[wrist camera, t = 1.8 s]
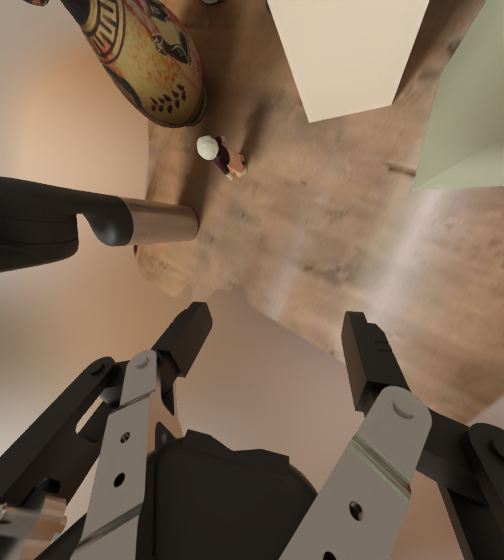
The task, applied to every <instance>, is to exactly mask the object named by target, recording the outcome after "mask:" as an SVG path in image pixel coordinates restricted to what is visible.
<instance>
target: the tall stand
mask: <svg viewBox="0 0 504 560" xmlns="http://www.w3.org/2000/svg"><path fill="white" fill-rule="evenodd" d="M267 1H268V4H269V7H270V10H271V13H272V16H273V19H274V22H275V25H276V28H277V30H278V33H279V36H280V39H281V42H282V45H283V48H284V51H285V54H286V57H287V60H288V62H289V65H290V68H291V71H292V74H293V77H294V80H295V83H296V86H297V89H298V91H299V94H300V97H301V100H302V103H303V106H304V109H305V112H306V115H307V118H308V121H309V123H310V122H315V121H320V120H324V119H329V118H334V117H339V116H343V115H348V114H353V113H357V112H362V111H367V110H371V109H376V108H381V107H385V106H390V105H392V102H393V99H394V97H395V94H396V91H397V88H398V86H399V83H400V80H401V77H402V75H403V72H404V69H405V66H406V64H407V61H408V58H409V55H410V53H411V50H412V47H413V44H414V42H415V39H416V36H417V33H418V31H419V28H420V25H421V22H422V20H423V17H424V14H425V11H426V9H427V6H428V3H429V0H267Z"/></svg>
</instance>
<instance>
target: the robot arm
mask: <svg viewBox="0 0 504 560" xmlns="http://www.w3.org/2000/svg"><path fill="white" fill-rule="evenodd" d="M76 214H83V215H84V216H85V217H86V219H87V220H88V222H89V224H90V226H91V228H92V230H93V232H94V233H95V235H96V236H97V238H98V239H99V240H100V241H101V242H102V243H104V244H106V245H109V246H125V245H126V246H127V245H140V244H154V243H168V242H182V241H190V240H192V239H193V238H194V237H195V236H196V234H197V231H198V220H197V217H196V214H195V213H194V211H193V210H192V209H191V208H189V207H187V206H180V205H174V204H167V203H160V202H154V201H147V200H140V199H133V198H126V197H118V196H112V195H105V194H98V193H92V192H86V191H79V190H72V189H68V188H62V187H56V186H52V185H47V184H42V183H37V182H31V181H26V180H21V179H14V178H8V177H0V272H6V271H11V270H17V269H22V268H28V267H33V266H38V265H43V264H48V263H53V262H57V261H60V260H64V259H66V258H69V257H71V256H72V255H74V254H75V253H76V252H77V250H78V244H79V241H78V228H77V217H76ZM211 328H212V317H211V314H210V312H209V309H208V306H207V303H205V302H192V303H191V305H190V306H189V308H188V309H185V310H184V311H182V312H181V313H180V314H179V315H178V316H177V317H176V318H175V319H174V320H173V323H171V324H170V326H169V328H167V329H166V331H165V332H164V333H163V335H162V336H161V337H160V338H159V340H158V341H157V342H156V343H155V344H154V346H153V347H152V348H151V350H145V351H142V352H140V353H138V354H137V355H136V356H134V357H133V358H132V359H131V360H129V361H123V362H117V363H116V362H115V361H114V360H113V358H111V357H103V358H100V359H98V360H96V361H95V362H93V363H91V364H90V365H89V366H88V367H87V368H86V369H85V370H84V371H83V372H82V373H81V374H80V375H79V376H78V377H77V378H76V379H75V380H74V381H73V382H72V383H71V384H70V385H69V386H68V388H66V389H65V390H64V392H63V393H62V394H61V395H60V396H59V397H58V398H57V399H56V400H55V401H54V402H53V403H52V404H51V405H50V406H49V407H48V408H47V409H46V410H45V411H44V412H43V413H42V414H41V415H40V416H39V417H38V418H37V419H36V421H35V422H34V423H33V424H32V425H31V426H30V427H29V428H28V429H27V430H26V431H25V432H24V433H23V434H22V435H21V436H20V437H19V438H18V439H17V440H16V441H15V442H14V443H13V444H12V445H11V446H10V448H9V449H7V450H6V451H5V453H4V454H3V455H2V456H1V457H0V560H389V558H390V555H391V552H392V550H393V547H394V544H395V541H396V538H397V535H398V533H399V530H400V527H401V524H402V521H403V519H404V516H405V513H406V510H407V507H408V504H409V501H410V496H411V489H410V483H411V479H412V477H413V474H414V471H415V470H417V471H419V472H421V473H422V474H424V475H426V476H427V477H429V478H431V479H433V480H434V481H436V482H437V484H438V487H439V490H440V492H441V495H442V498H443V501H444V504H445V506H446V509H447V512H448V515H449V518H450V521H451V523H452V526H453V529H454V532H455V535H456V538H457V540H458V543H459V546H460V549H461V552H462V554H463V557H464V560H504V430H503V429H501V428H498V427H496V426H493V425H490V424H486V423H476V424H474V425H472V426H471V427H468V426H466V425H464V424H461V423H459V422H457V421H454V420H452V419H450V418H448V417H445V416H443V415H441V414H438V413H436V412H434V411H433V410H431V409H429V408H428V407H427V406H426V405H425V404H424V403H423V402H422V401H421V400H420V399H419V398H418V397H417V396H416V395H414V394H413V393H412V392H411V390H410V389H409V387H408V385H407V383H406V380H405V378H404V376H403V374H402V371H401V369H400V367H399V365H398V363H397V360H396V358H395V356H394V354H393V353H392V349H391V347H390V345H389V344H388V343H389V342H388V340H387V338H386V336H385V333H384V332H383V331H382V330H381V329H380V328H379V327H378V326H377V325H376V324H373V323H367V320H366V318H365V315H364V313H363V312H351V311H346V313H345V317H344V322H343V327H342V334H341V339H342V346H343V351H344V356H345V361H346V366H347V371H348V376H349V382H350V387H351V392H352V396H353V402H354V407H355V411H360V412H363V413H364V416H365V419H364V421H363V422H362V424H361V426H360V427H359V430H358V431H357V433H356V434H355V436H354V437H353V438H352V439H351V441H350V442H349V444H348V446H347V447H346V449H345V451H344V452H343V454H342V456H341V457H340V459H339V460H338V462H337V464H336V465H335V467H334V469H333V470H332V472H331V474H330V475H329V477H328V479H327V481H326V482H325V484H324V485H323V487H322V489H321V490H320V492H319V494H318V493H317V492H316V490H315V488H314V487H313V486H312V484H311V483H310V482H309V481H308V479H307V478H306V477H305V476H304V475H303V474H302V473H301V472H300V471H299V470H297V469H296V468H295V467H294V466H292V465H291V464H289V456H286V455H282V454H278V453H274V452H271V451H267V450H263V449H254V450H241V451H232V450H230V449H229V448H227V447H226V446H224V445H223V444H222V443H220V442H219V441H217V440H216V439H215V438H213V437H212V436H211V435H208V434H204V433H200V432H197V431H193V430H189V429H188V430H187V433H186V435H185V437H183V432H182V428H181V425H180V423H179V419H178V409H177V395H176V383H175V380H176V378H177V376H178V377H184V378H185V377H186V375H187V373H188V371H189V369H190V368H191V366H192V364H193V362H194V360H195V358H196V356H197V355H198V353H199V351H200V349H201V347H202V345H203V343H204V342H205V339H206V338H207V336H208V334H209V332H210V330H211ZM98 396H99V397H100V398H101V399H102V400H103V402H102V403H101V404H100V406H99V407H98V408H97V409H96V411H95V412H94V413H93V415H92V416H91V417H90V419H89V420H88V421H87V423H86V424H85V425H84V426H83V428H82V429H81V430H80V432H79V433H78V434H77V433H76V431H75V430H76V425H77V423H78V422H79V420H80V419H81V418H82V416H83V415H84V414H85V413H86V411H87V410H88V409H89V408H90V406H91V405H92V404H93V403H94V401H95V400H96V399H97V398H98ZM99 455H100V456H99ZM98 457H99V461H98V465H97V470H96V475H95V479H94V484H93V489H92V493H91V498H90V502H89V507H88V512H87V513H86V514H85V515H83V516H82V517H81V518H80V519H79V520H78V521H77V522H76V523H75V524H73V525H72V526H71V527H70V528H69V529H68V530H67V531H65V532H64V533H63V534H62V535H61V536H60V537H59V535H60V534H61V533H62V531H63V530H64V528H65V526H66V523H67V516H65V515H64V513H65V510H66V506H67V505H68V503H69V502H70V500H71V499H72V497H73V496H74V494H75V492H76V491H77V489H78V488H79V486H80V485H81V483H82V482H83V480H84V478H85V477H86V475H87V474H88V472H89V470H90V469H91V467H92V466H93V464H94V463H95V461H96V460H97V458H98ZM58 537H59V538H58ZM55 539H57V540H55ZM54 540H55V541H54ZM52 541H54V542H53V543H52V544H51V545H50V543H51V542H52Z"/></svg>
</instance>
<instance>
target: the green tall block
mask: <svg viewBox="0 0 504 560" xmlns="http://www.w3.org/2000/svg"><path fill="white" fill-rule="evenodd" d="M494 186H504V0H487V1H486V2H485V4H484V6H483V7H482V9H481V11H480V12H479V14H478V15H477V17H476V19H475V20H474V22H473V24H472V25H471V27H470V28H469V30H468V32H467V33H466V35H465V37H464V38H463V40H462V42H461V43H460V45H459V46H458V48H457V50H456V51H455V53H454V55H453V56H452V58H451V59H450V61H449V63H448V64H447V66H446V68H445V69H444V71H443V73H442V74H441V76H440V77H439V81H438V85H437V90H436V94H435V98H434V102H433V106H432V110H431V114H430V119H429V123H428V127H427V131H426V135H425V139H424V144H423V148H422V152H421V156H420V160H419V164H418V168H417V173H416V177H415V181H414V185H413V189H412V191H414V190H434V189H454V188H474V187H494Z"/></svg>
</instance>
